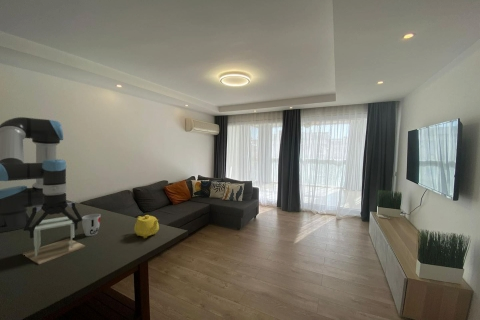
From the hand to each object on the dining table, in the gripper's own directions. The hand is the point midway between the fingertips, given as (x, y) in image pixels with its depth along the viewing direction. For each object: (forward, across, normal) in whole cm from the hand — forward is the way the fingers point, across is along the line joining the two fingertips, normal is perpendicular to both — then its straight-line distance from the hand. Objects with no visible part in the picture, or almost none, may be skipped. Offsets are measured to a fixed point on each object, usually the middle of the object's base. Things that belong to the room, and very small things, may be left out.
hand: (55, 240), depth 86 cm
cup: (+5, +14, +11) cm, 18 cm away
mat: (+5, 0, 0) cm, 5 cm away
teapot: (+5, +37, -8) cm, 38 cm away
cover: (+3, 0, 0) cm, 3 cm away
